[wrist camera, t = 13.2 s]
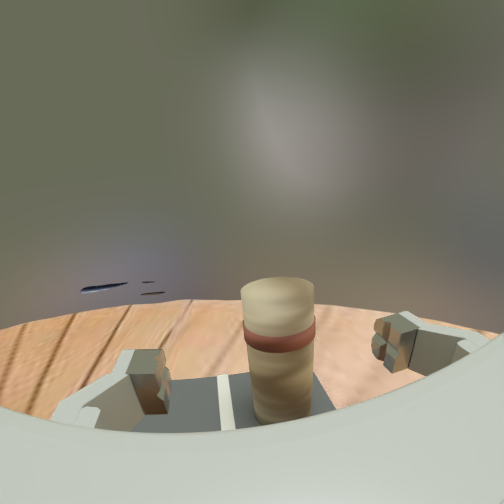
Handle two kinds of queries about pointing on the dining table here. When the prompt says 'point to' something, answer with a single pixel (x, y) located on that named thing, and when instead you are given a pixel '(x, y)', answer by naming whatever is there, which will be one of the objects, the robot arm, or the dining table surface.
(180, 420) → the lane mat
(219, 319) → the dining table surface
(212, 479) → the robot arm
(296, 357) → the skittle
